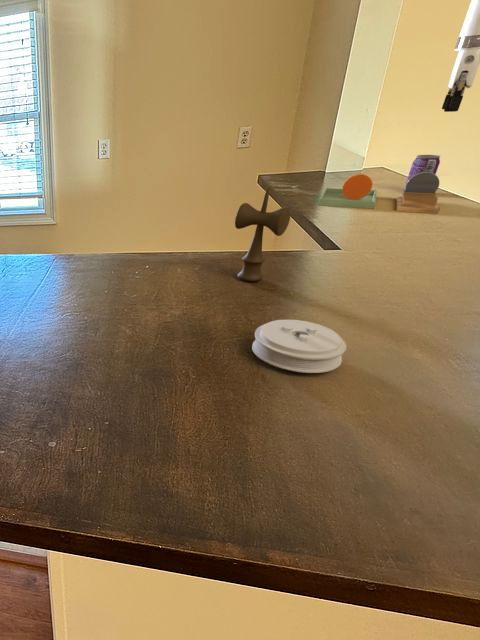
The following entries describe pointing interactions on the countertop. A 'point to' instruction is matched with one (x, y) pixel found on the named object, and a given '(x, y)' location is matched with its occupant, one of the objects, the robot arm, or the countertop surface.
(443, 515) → the countertop surface
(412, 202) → the disc rack
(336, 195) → the tray
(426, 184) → the slate disc
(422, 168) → the beverage can
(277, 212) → the kendama
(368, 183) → the orange disc
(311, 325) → the white round disc
